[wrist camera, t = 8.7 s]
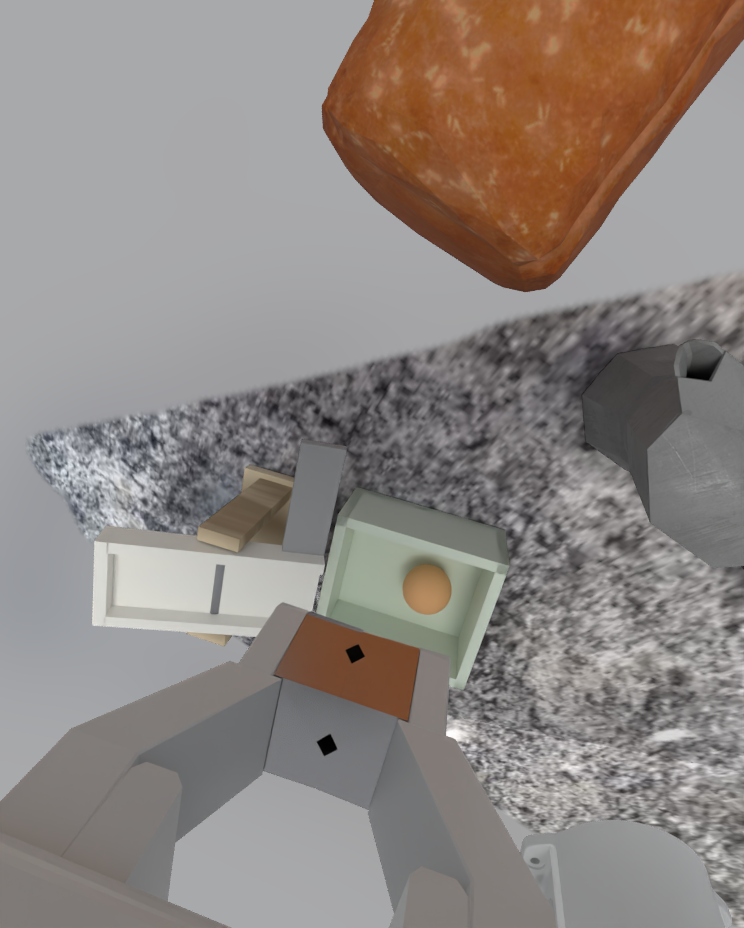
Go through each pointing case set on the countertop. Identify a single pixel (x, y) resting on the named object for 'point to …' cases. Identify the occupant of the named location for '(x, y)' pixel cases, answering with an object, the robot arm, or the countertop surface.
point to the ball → (427, 589)
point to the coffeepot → (678, 441)
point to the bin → (395, 554)
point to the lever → (220, 565)
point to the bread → (518, 116)
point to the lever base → (249, 519)
